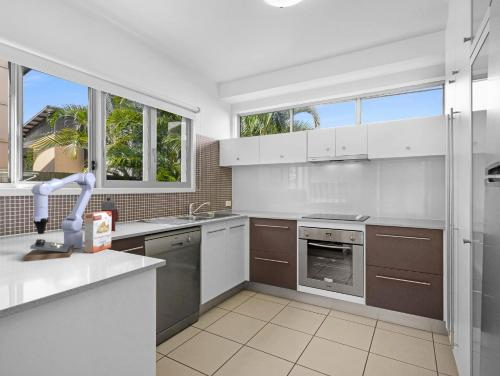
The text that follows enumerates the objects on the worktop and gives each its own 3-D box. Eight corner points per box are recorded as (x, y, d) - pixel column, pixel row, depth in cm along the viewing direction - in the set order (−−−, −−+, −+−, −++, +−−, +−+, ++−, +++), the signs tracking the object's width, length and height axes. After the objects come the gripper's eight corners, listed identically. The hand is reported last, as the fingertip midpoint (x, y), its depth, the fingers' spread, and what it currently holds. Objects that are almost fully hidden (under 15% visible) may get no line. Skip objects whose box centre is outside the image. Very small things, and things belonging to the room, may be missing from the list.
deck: (70, 246, 148) (72, 240, 148) (67, 252, 136) (68, 245, 137) (37, 243, 141) (38, 237, 142) (30, 248, 130) (31, 241, 130)
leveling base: (73, 250, 150) (73, 244, 150) (69, 257, 136) (69, 250, 136) (32, 253, 142) (32, 247, 142) (23, 261, 128) (23, 254, 128)
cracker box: (93, 253, 143) (93, 213, 143) (83, 252, 145) (83, 213, 144) (112, 247, 157) (112, 211, 157) (102, 247, 158) (103, 210, 158)
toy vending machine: (118, 231, 211) (118, 194, 211) (102, 232, 205) (102, 195, 205) (117, 229, 219) (117, 194, 219) (101, 230, 213) (101, 194, 213)
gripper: (35, 206, 146) (35, 232, 146) (27, 208, 133) (27, 236, 133) (51, 206, 149) (51, 231, 149) (45, 208, 136) (44, 235, 136)
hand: (41, 233), depth 141 cm, fingers closed
